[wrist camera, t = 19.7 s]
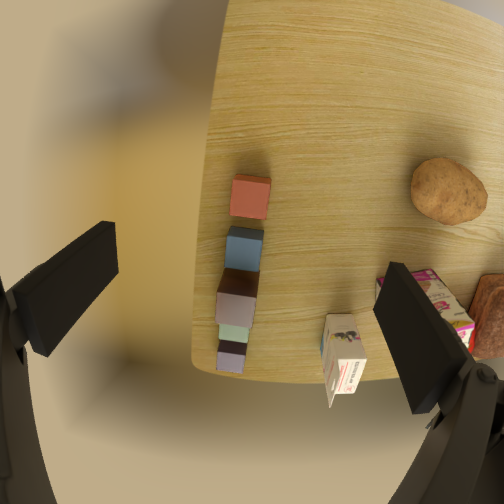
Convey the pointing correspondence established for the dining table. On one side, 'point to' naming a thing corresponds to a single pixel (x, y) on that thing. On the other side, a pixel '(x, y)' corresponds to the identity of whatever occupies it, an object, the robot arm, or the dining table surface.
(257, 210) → the block
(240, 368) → the block
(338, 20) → the dining table surface
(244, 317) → the walnut block
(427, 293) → the candy bar box
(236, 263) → the block
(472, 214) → the potato
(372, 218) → the dining table surface
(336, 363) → the ink box
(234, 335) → the block
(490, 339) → the bread
